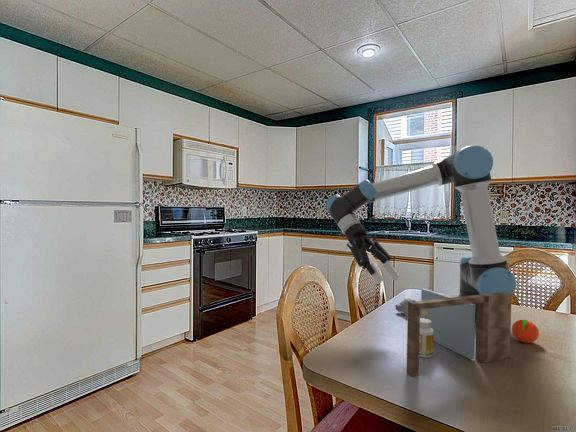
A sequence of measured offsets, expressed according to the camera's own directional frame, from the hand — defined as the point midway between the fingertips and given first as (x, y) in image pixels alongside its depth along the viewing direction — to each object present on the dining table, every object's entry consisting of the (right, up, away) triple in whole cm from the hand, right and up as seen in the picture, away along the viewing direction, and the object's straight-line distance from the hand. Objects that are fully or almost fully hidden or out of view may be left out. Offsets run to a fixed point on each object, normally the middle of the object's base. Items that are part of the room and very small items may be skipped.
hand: (388, 279), depth 108 cm
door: (+14, -18, -10) cm, 25 cm away
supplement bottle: (+5, -19, -15) cm, 24 cm away
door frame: (+13, -18, -21) cm, 31 cm away
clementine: (+41, -19, -5) cm, 45 cm away
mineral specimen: (+15, -18, +18) cm, 30 cm away
